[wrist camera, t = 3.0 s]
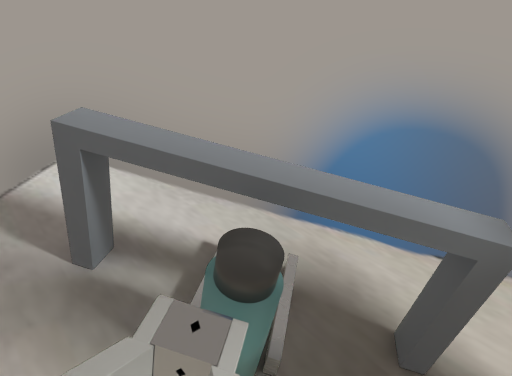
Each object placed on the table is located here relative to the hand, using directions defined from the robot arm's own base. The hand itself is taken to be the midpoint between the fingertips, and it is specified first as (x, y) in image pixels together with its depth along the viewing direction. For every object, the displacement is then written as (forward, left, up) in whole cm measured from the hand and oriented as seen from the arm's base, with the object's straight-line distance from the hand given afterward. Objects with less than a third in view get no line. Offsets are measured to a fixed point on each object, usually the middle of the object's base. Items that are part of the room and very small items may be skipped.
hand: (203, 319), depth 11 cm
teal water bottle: (0, -11, -21) cm, 23 cm away
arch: (0, -18, -21) cm, 28 cm away
